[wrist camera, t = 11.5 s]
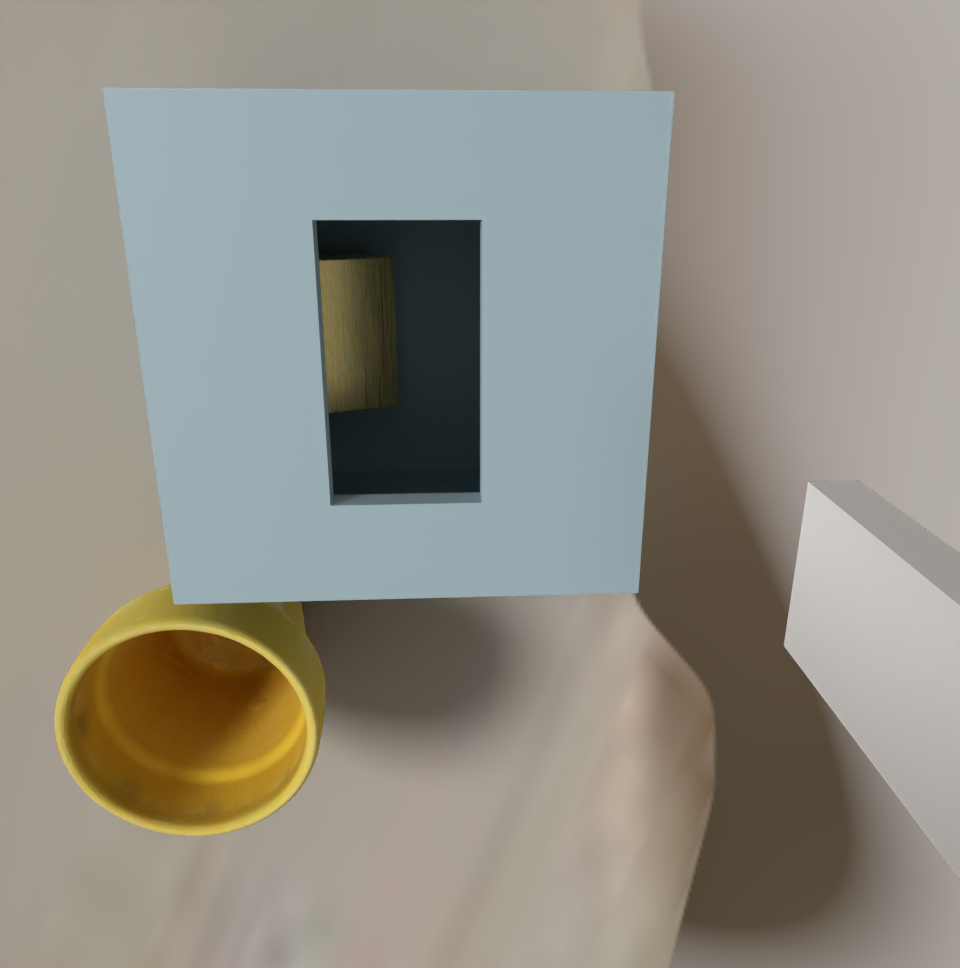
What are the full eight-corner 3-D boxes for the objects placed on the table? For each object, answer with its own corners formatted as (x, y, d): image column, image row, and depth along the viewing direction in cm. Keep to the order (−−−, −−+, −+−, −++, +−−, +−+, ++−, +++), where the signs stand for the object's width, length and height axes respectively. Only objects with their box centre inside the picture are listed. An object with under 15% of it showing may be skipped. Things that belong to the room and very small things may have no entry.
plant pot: (361, 685, 44) (343, 819, 35) (166, 717, 44) (97, 859, 35) (318, 504, 41) (285, 599, 31) (106, 538, 41) (11, 644, 31)
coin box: (209, 117, 34) (102, 87, 23) (596, 119, 35) (674, 91, 24) (246, 484, 40) (173, 604, 29) (580, 478, 41) (638, 592, 30)
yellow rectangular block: (370, 252, 36) (226, 257, 34) (393, 258, 33) (238, 263, 31) (376, 389, 38) (240, 403, 36) (398, 405, 35) (253, 421, 33)
